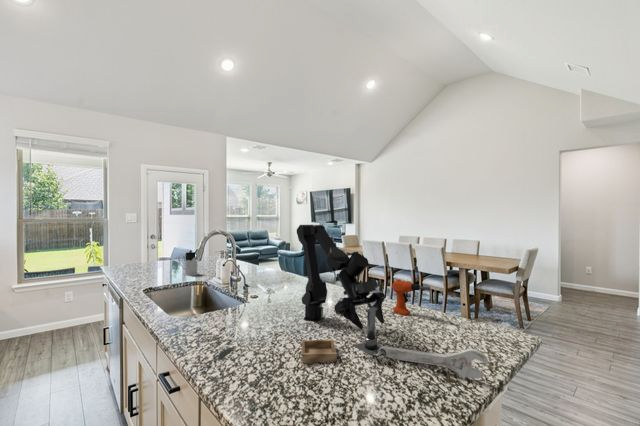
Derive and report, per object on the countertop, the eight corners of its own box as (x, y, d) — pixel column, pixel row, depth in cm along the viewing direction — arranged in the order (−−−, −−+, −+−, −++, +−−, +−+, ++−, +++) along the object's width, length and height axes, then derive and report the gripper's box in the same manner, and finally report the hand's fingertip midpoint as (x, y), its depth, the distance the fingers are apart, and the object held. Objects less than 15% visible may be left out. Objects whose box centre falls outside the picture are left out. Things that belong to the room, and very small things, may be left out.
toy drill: (430, 319, 124) (426, 281, 125) (391, 314, 138) (388, 279, 139) (436, 317, 127) (432, 280, 129) (397, 311, 141) (394, 278, 143)
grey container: (193, 276, 211) (193, 254, 211) (174, 275, 214) (174, 253, 214) (200, 273, 220) (200, 252, 220) (182, 272, 222) (182, 251, 222)
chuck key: (370, 351, 97) (370, 309, 97) (361, 346, 100) (362, 306, 100) (380, 348, 99) (380, 307, 99) (371, 343, 103) (372, 304, 103)
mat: (353, 347, 101) (353, 345, 101) (371, 341, 105) (371, 340, 105) (370, 356, 94) (370, 355, 94) (388, 350, 99) (388, 349, 99)
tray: (302, 363, 89) (302, 354, 89) (301, 348, 99) (301, 340, 99) (336, 362, 90) (336, 353, 90) (332, 347, 100) (332, 339, 100)
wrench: (381, 363, 96) (490, 382, 80) (379, 366, 95) (490, 385, 78) (378, 337, 97) (486, 350, 80) (376, 339, 95) (486, 352, 79)
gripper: (339, 273, 99) (363, 318, 89) (382, 268, 109) (406, 307, 100) (325, 293, 105) (345, 336, 96) (366, 286, 115) (388, 325, 106)
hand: (372, 325), depth 99 cm, fingers open, 9 cm apart
